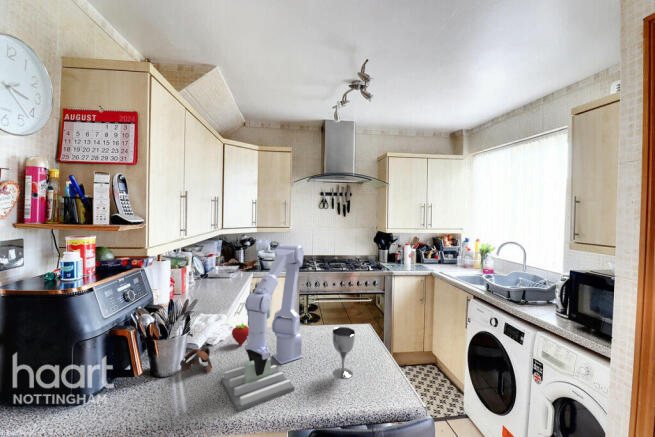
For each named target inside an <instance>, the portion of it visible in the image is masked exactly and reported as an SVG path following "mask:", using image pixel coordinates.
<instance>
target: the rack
mask: <svg viewBox="0 0 655 437" xmlns="http://www.w3.org/2000/svg"><path fill="white" fill-rule="evenodd" d="M244 376H245V365H243V366H240V367H236V368H233V369H230V370H226V371H224V376H222V377H221V378H220V381H221V384H222V385H223V387H224V388H225V389H224V390H225V391H226V393H227V394H228V396H229V397H230V399H231V402H232V403H233V405H234V407H235V408H236V410H237V412H238V413H239V412H242V411H244V410H248V409H249V408H252V407H255V406H258V405H260V404H263V403H265V402H267V401H270V400H273V399H275V398H279V397H280V396H283V395H286V394H288V393H291V392H294V391H295V385H293V384H292V383H291V382H292V380H290V379H288V378H286V376H285V375H284V372H283V371H280V370H279V369H278V366H277V365H276V364H273V363H272V362H271V376H268V377H265V378H262V379H259V380H256V381H253V382H250V383H247V384H244Z"/></svg>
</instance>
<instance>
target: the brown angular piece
mask: <svg viewBox="0 0 655 437" xmlns="http://www.w3.org/2000/svg"><path fill="white" fill-rule="evenodd" d="M210 354H211V350H210V348H209V346H203V347H202V348H201V349H200V348H195V349H193V350H191V351H190V352H188V353H187V354H186V355H185V356H184V357H183V358H184V359H182V360H180V362H179V366H180V371H181V372H186V371H188V372H191V371H192V366H200V365H201V362H202V363H207V366H206V367H205V370H206V373H207V374H209V373H210V372H211V371H212V369H213V365H212V362H211V360H210ZM191 357H192V358H191ZM190 358H191V359H190ZM189 359H190V360H189ZM200 360H201V362H200Z"/></svg>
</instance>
